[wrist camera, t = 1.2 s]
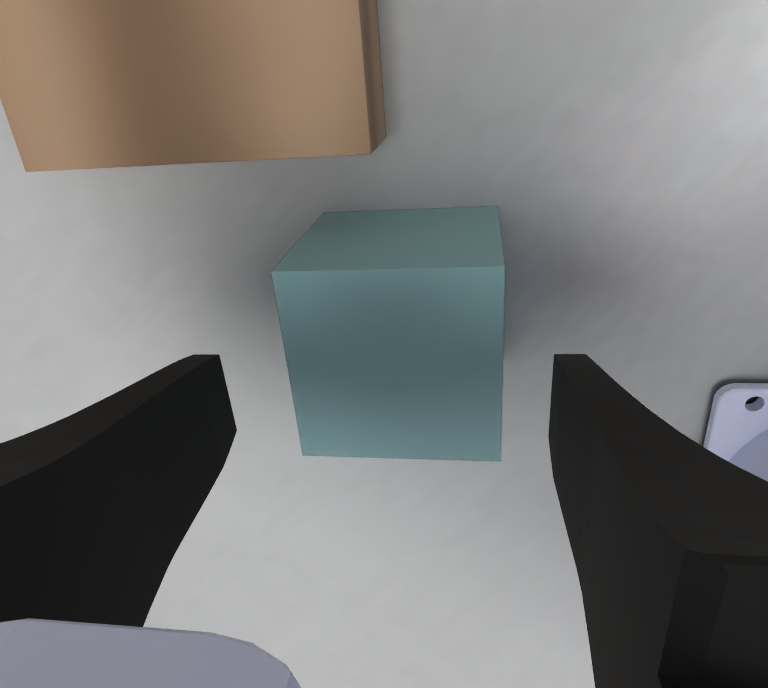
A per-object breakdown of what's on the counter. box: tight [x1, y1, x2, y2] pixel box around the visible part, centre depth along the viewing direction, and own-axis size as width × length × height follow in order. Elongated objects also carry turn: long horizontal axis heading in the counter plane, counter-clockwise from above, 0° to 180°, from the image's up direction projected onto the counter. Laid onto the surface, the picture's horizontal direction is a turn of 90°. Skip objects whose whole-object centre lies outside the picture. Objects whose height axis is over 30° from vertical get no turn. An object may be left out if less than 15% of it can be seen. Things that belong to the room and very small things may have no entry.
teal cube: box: [271, 206, 505, 461], centre depth 16 cm, size 5×5×5 cm
